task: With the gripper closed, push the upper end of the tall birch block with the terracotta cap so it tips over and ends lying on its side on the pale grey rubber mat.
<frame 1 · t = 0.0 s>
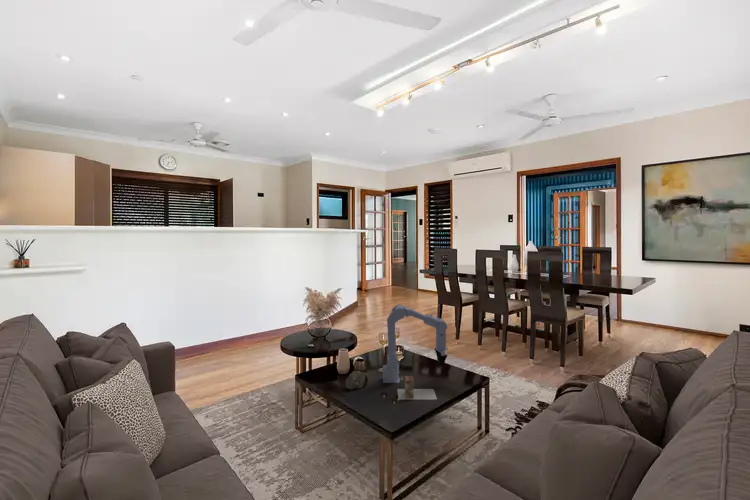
hand: (440, 363, 210), 10 cm above the table, tool pointing down, fingers open, 7 cm apart
grey mat: (416, 394, 192), on the table
birch block: (409, 394, 191), resting on grey mat
rock: (357, 387, 202), on the table
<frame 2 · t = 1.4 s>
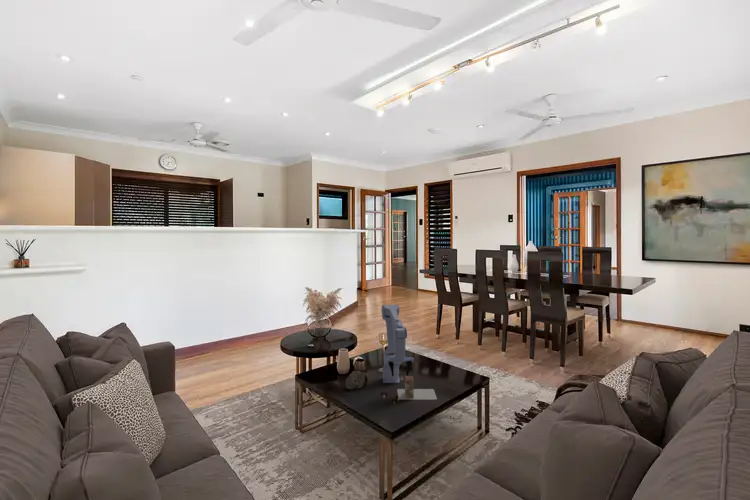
hand: (399, 375, 192), 10 cm above the table, tool pointing down, fingers open, 7 cm apart
nothing on the table moved.
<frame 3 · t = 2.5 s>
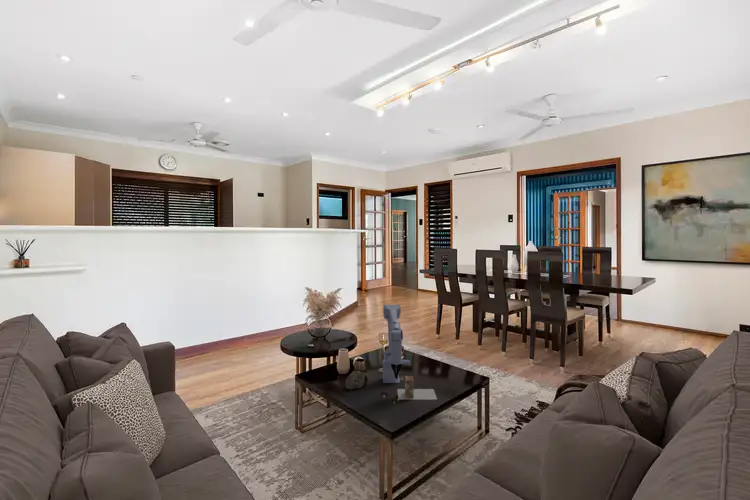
hand: (396, 377, 191), 10 cm above the table, tool pointing down, fingers closed
nothing on the table moved.
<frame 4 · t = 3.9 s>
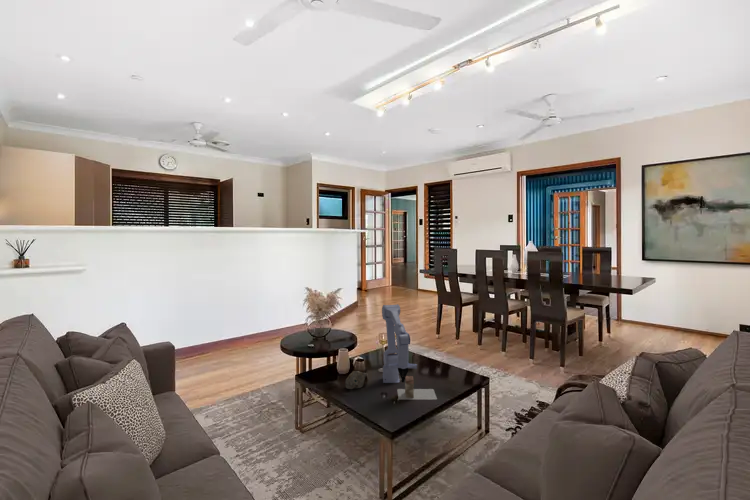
hand: (402, 381, 191), 8 cm above the table, tool pointing down, fingers closed
nothing on the table moved.
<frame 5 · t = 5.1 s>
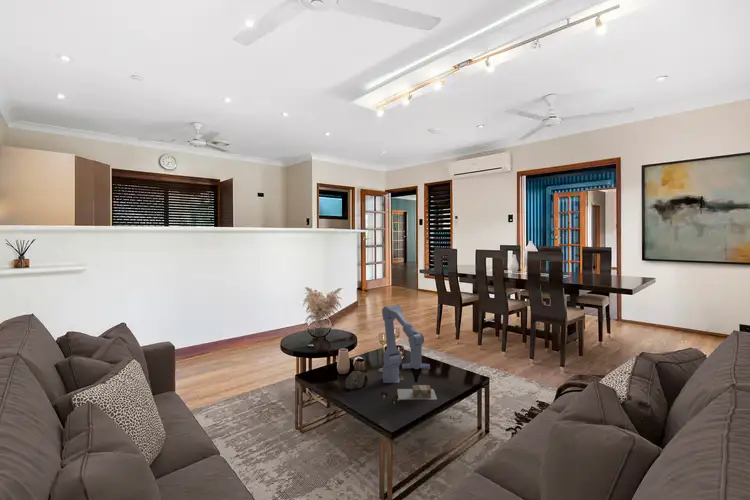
hand: (415, 381, 191), 8 cm above the table, tool pointing down, fingers closed
birch block: (413, 391, 191), point 2 cm above the table, tilted 90°, touching grey mat
everything else where it was.
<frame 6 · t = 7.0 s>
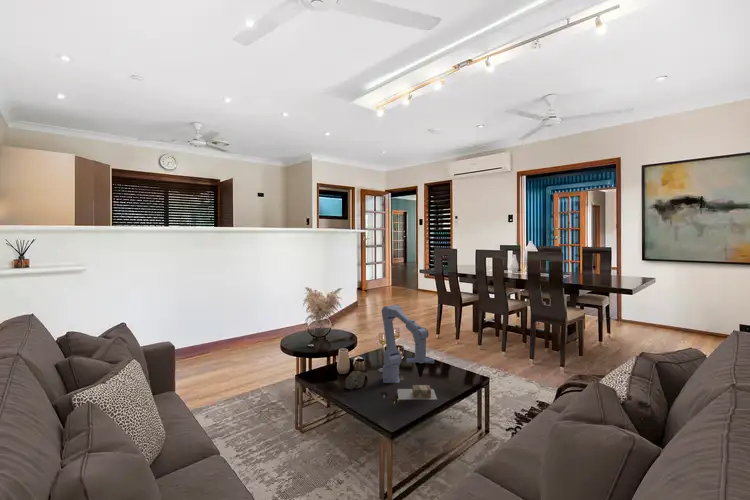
hand: (420, 376, 191), 10 cm above the table, tool pointing down, fingers closed
nothing on the table moved.
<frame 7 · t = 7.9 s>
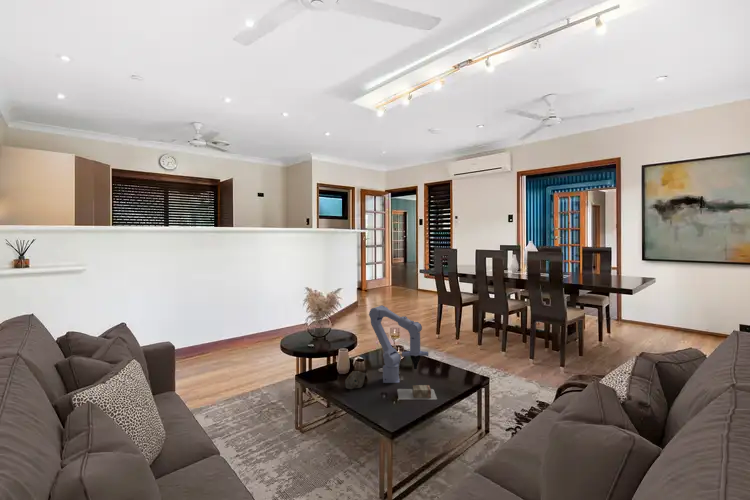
hand: (415, 368, 201), 10 cm above the table, tool pointing down, fingers closed
nothing on the table moved.
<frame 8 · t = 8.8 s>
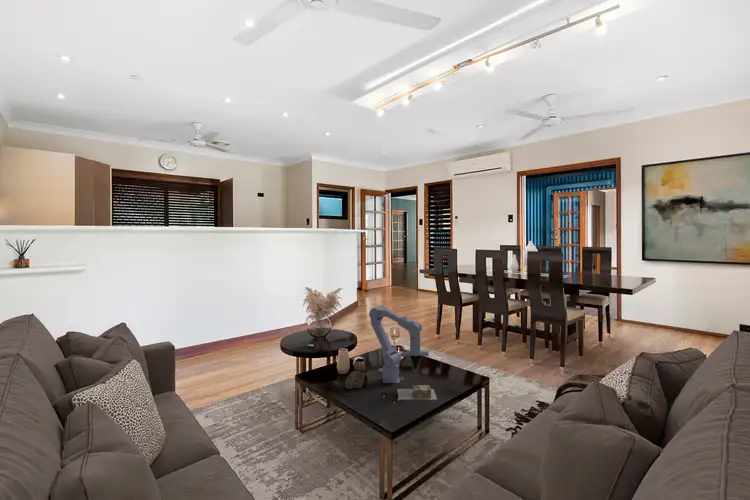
hand: (415, 368, 201), 10 cm above the table, tool pointing down, fingers closed
nothing on the table moved.
at the end: birch block tilted 90°; birch block inside the target area (4.0 cm from its centre), point 2.4 cm above the table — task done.
